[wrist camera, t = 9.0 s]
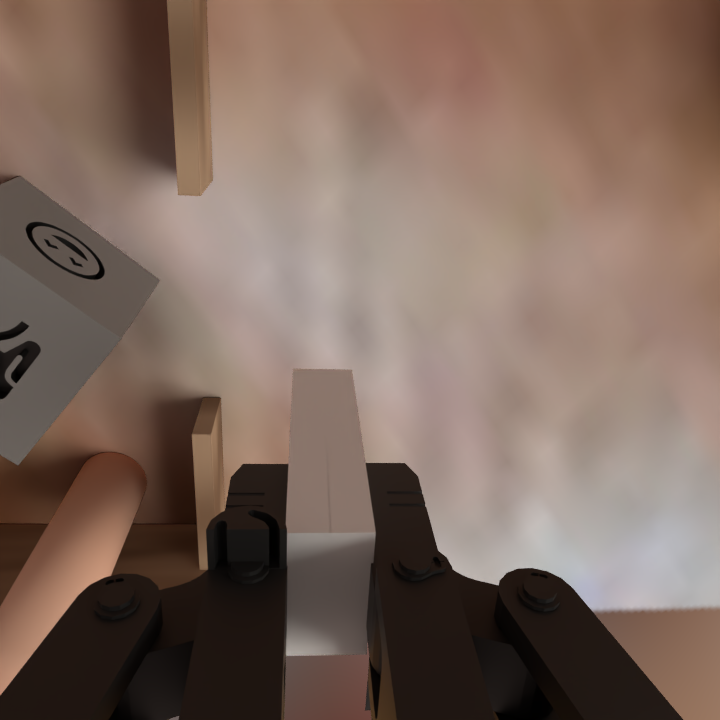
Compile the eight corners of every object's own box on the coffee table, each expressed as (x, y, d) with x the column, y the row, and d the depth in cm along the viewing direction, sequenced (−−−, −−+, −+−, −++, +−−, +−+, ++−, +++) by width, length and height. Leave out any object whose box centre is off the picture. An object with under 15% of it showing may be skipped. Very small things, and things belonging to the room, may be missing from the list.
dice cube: (75, 384, 23) (18, 465, 19) (-62, 295, 22) (-161, 359, 17) (160, 279, 22) (120, 339, 17) (21, 175, 20) (-63, 210, 16)
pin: (103, 440, 24) (-9, 636, 16) (159, 476, 25) (80, 682, 17) (67, 483, 25) (-60, 694, 16) (122, 518, 25) (28, 735, 17)
